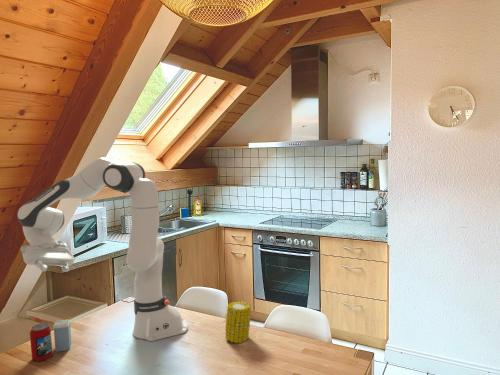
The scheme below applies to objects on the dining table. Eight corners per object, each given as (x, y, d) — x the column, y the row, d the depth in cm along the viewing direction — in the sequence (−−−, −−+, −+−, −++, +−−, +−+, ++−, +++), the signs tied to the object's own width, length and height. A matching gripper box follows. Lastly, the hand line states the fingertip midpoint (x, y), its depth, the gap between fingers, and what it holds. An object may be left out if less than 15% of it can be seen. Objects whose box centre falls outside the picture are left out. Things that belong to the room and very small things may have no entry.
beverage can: (44, 363, 145) (41, 331, 144) (27, 361, 147) (25, 329, 145) (56, 353, 152) (54, 323, 151) (40, 352, 153) (38, 321, 152)
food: (226, 337, 164) (250, 338, 164) (223, 345, 152) (249, 346, 152) (227, 299, 166) (251, 300, 166) (224, 303, 154) (250, 304, 154)
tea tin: (71, 343, 160) (70, 319, 159) (70, 349, 155) (68, 324, 154) (57, 345, 158) (55, 321, 157) (55, 352, 153) (53, 326, 152)
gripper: (22, 239, 158) (34, 263, 150) (69, 243, 175) (82, 265, 168) (15, 251, 159) (26, 276, 152) (61, 254, 176) (74, 276, 169)
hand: (56, 270), depth 160 cm, fingers open, 8 cm apart
